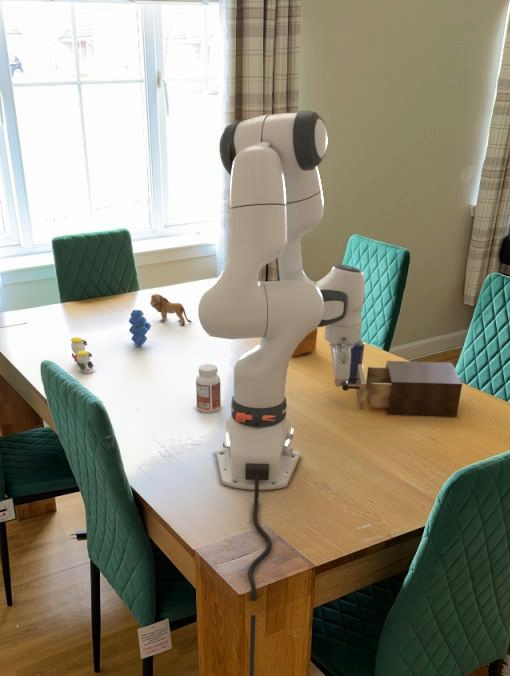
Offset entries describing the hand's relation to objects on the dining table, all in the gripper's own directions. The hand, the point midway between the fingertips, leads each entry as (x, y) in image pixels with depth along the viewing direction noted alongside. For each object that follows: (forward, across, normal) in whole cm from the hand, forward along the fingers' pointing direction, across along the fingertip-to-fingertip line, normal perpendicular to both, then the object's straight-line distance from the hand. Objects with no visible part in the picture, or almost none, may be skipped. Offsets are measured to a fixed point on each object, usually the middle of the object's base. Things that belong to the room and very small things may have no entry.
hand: (338, 384), depth 192 cm
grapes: (+5, +39, +59) cm, 71 cm away
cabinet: (+5, 0, -21) cm, 21 cm away
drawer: (+4, 0, -11) cm, 11 cm away
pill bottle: (+5, -7, +33) cm, 34 cm away
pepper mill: (+5, +15, -5) cm, 16 cm away
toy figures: (+5, +19, +73) cm, 76 cm away
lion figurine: (+5, +64, +54) cm, 84 cm away
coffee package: (+5, +39, +11) cm, 41 cm away
